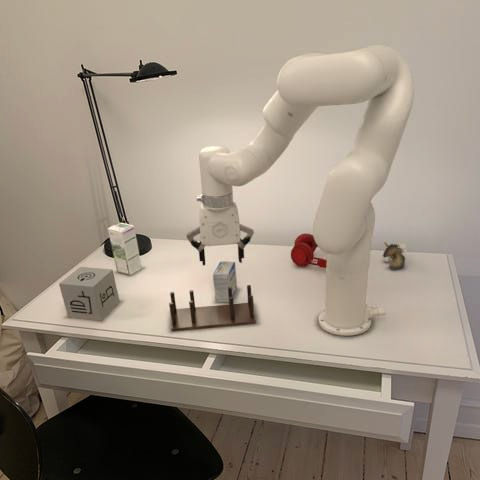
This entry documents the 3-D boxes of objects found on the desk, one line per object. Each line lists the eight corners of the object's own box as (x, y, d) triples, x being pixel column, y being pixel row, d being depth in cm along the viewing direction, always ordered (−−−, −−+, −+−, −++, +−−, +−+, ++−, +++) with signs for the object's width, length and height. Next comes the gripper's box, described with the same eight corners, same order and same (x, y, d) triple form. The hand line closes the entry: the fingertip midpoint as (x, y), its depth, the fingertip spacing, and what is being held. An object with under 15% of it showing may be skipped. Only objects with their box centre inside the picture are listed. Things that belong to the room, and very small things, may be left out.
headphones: (287, 268, 152) (355, 280, 149) (290, 246, 148) (360, 259, 145) (294, 248, 164) (357, 259, 161) (297, 227, 160) (362, 238, 157)
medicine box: (231, 303, 138) (229, 274, 133) (215, 302, 138) (212, 273, 134) (237, 289, 144) (235, 261, 140) (222, 288, 145) (219, 260, 140)
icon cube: (101, 320, 134) (93, 286, 129) (68, 316, 137) (58, 283, 131) (119, 302, 142) (112, 269, 137) (88, 298, 145) (80, 266, 140)
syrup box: (142, 268, 160) (135, 224, 152) (129, 276, 156) (121, 231, 148) (129, 265, 163) (120, 221, 155) (116, 272, 158) (106, 228, 151)
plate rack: (252, 304, 136) (250, 282, 133) (255, 323, 128) (254, 299, 124) (172, 311, 136) (169, 289, 132) (171, 331, 127) (167, 307, 124)
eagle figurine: (376, 252, 156) (376, 260, 148) (391, 233, 153) (392, 240, 145) (396, 267, 156) (398, 275, 148) (412, 248, 153) (414, 255, 145)
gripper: (182, 206, 124) (189, 270, 133) (254, 201, 124) (256, 265, 133) (183, 196, 130) (189, 258, 139) (251, 192, 131) (253, 253, 140)
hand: (222, 262), depth 136 cm, fingers open, 9 cm apart
